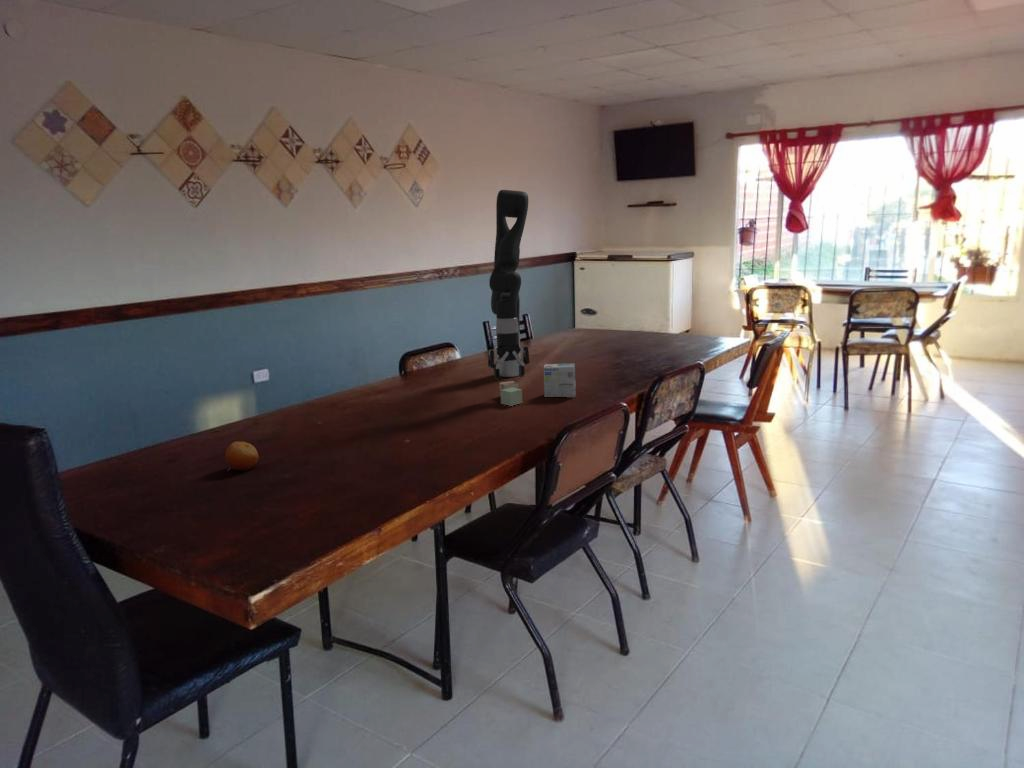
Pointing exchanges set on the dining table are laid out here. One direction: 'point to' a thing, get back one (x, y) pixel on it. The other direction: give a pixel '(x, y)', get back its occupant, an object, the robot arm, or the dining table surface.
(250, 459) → the fruit
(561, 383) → the light bulb box
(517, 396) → the sage block
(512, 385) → the beech block
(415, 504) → the dining table surface
